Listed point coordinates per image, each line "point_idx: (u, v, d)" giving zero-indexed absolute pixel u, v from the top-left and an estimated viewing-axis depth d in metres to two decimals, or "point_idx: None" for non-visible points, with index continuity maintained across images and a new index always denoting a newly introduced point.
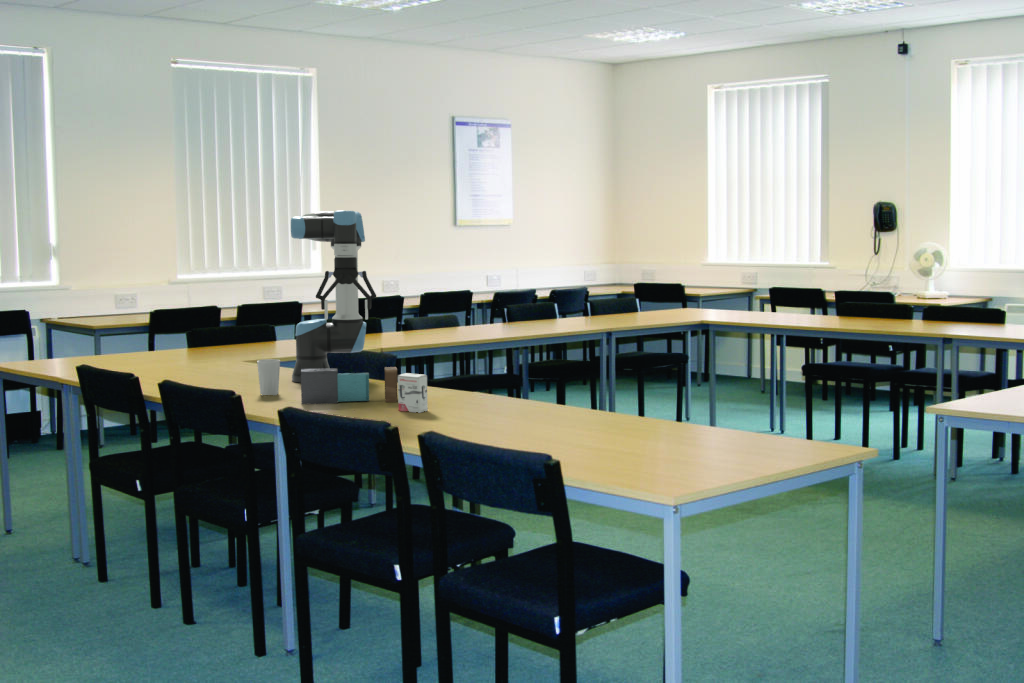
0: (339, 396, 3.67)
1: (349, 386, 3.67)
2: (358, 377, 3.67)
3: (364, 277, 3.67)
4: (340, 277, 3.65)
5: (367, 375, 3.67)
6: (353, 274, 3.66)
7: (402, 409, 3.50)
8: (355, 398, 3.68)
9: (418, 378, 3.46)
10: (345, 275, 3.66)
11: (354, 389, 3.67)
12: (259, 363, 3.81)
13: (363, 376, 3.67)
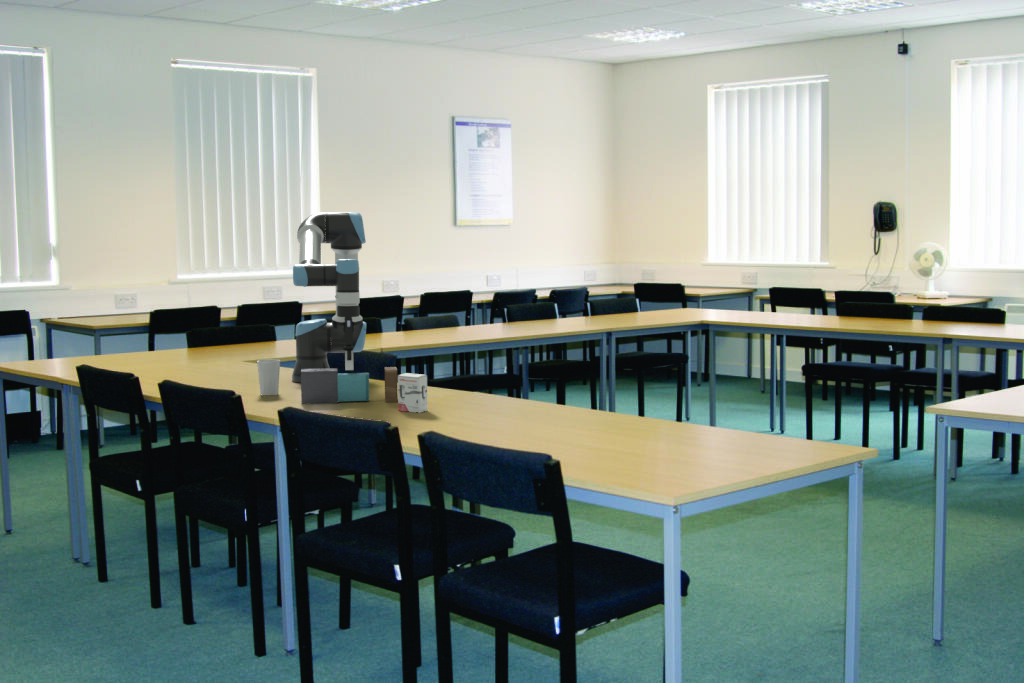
0: (339, 396, 3.67)
1: (349, 386, 3.67)
2: (358, 377, 3.67)
3: (345, 327, 3.60)
4: None
5: (367, 375, 3.67)
6: (345, 323, 3.64)
7: (402, 409, 3.50)
8: (355, 398, 3.68)
9: (418, 378, 3.46)
10: (345, 323, 3.66)
11: (354, 389, 3.67)
12: (259, 363, 3.81)
13: (363, 376, 3.67)
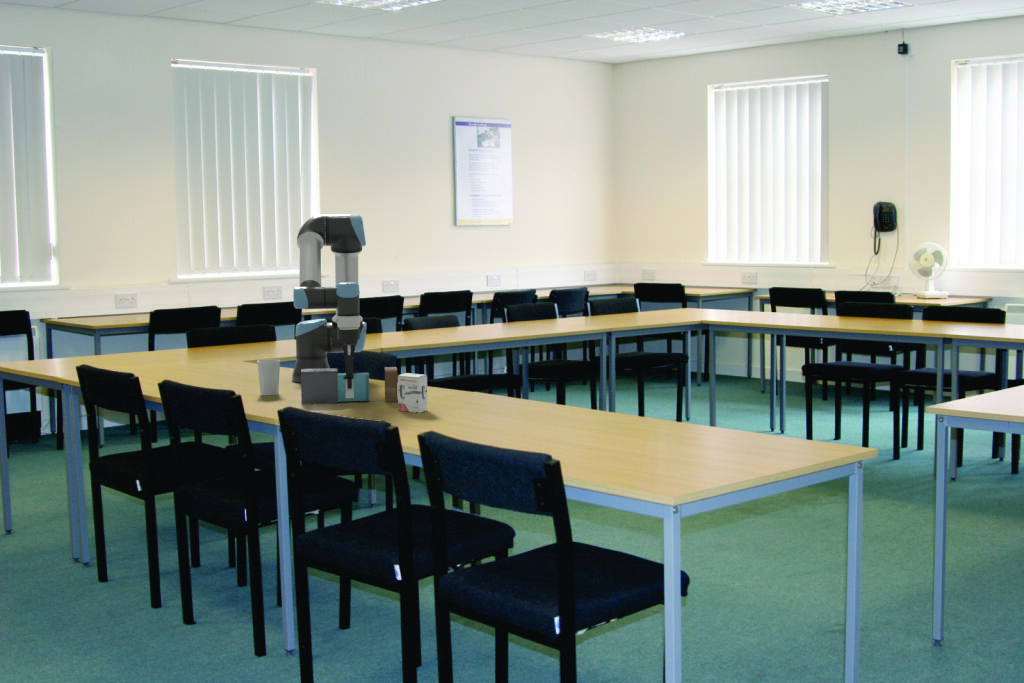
0: (339, 396, 3.67)
1: None
2: (358, 377, 3.67)
3: (345, 355, 3.62)
4: None
5: (367, 375, 3.67)
6: (345, 346, 3.65)
7: (402, 409, 3.50)
8: (355, 398, 3.68)
9: (418, 378, 3.46)
10: (345, 346, 3.67)
11: (354, 389, 3.67)
12: (259, 363, 3.81)
13: (363, 376, 3.67)
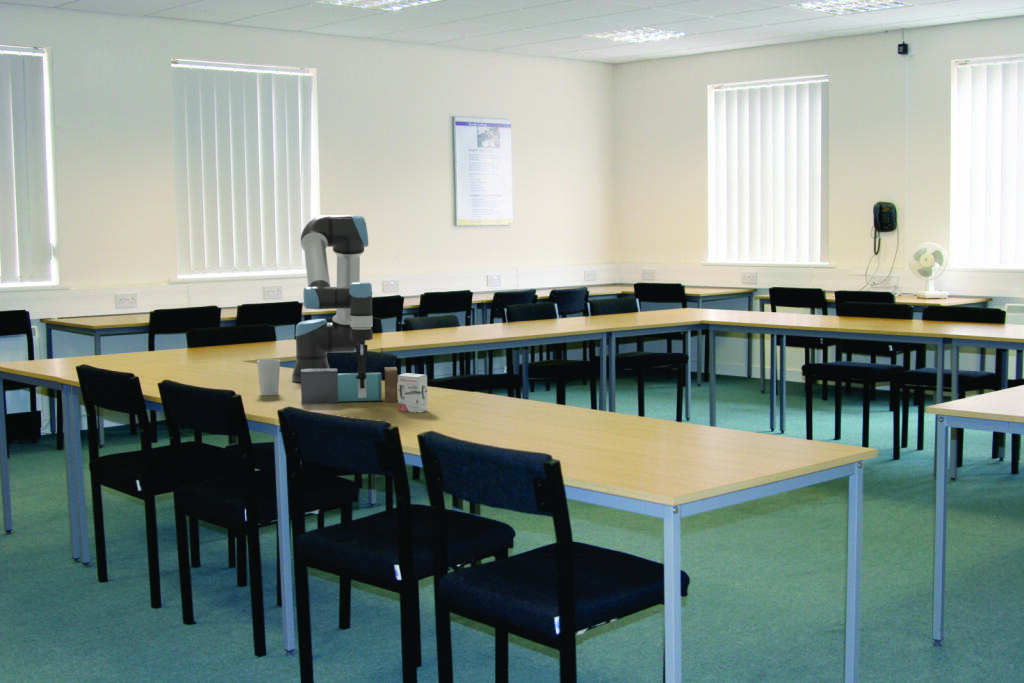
0: (352, 396, 3.67)
1: None
2: (370, 377, 3.68)
3: (358, 354, 3.63)
4: None
5: (379, 375, 3.68)
6: (358, 346, 3.65)
7: (402, 409, 3.50)
8: (367, 397, 3.68)
9: (418, 378, 3.46)
10: (358, 346, 3.68)
11: (367, 389, 3.68)
12: (259, 363, 3.81)
13: (376, 376, 3.68)
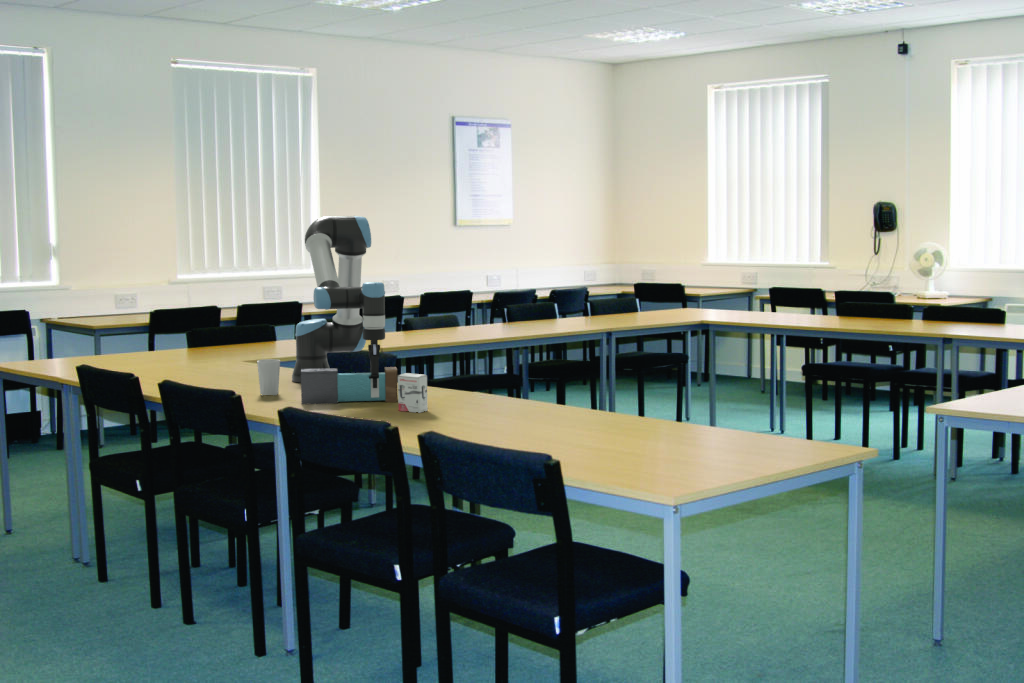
0: (364, 395, 3.68)
1: None
2: (383, 377, 3.68)
3: (371, 354, 3.63)
4: None
5: None
6: (371, 345, 3.66)
7: (402, 409, 3.50)
8: (380, 397, 3.69)
9: (418, 378, 3.46)
10: (370, 346, 3.69)
11: (380, 389, 3.69)
12: (259, 363, 3.81)
13: None
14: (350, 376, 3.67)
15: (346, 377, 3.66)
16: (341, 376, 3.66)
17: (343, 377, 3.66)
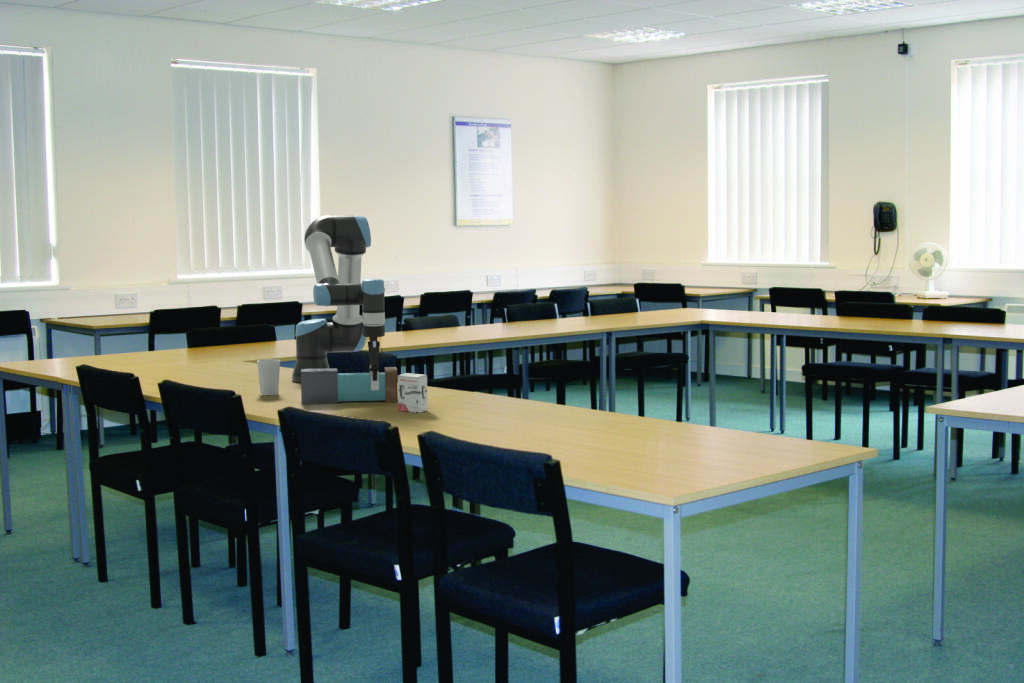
0: (364, 395, 3.68)
1: None
2: (383, 377, 3.68)
3: (370, 347, 3.62)
4: None
5: None
6: None
7: (402, 409, 3.50)
8: (380, 397, 3.69)
9: (418, 378, 3.46)
10: None
11: (380, 388, 3.69)
12: (259, 363, 3.81)
13: None
14: (350, 376, 3.67)
15: (346, 377, 3.66)
16: (341, 376, 3.66)
17: (343, 377, 3.66)
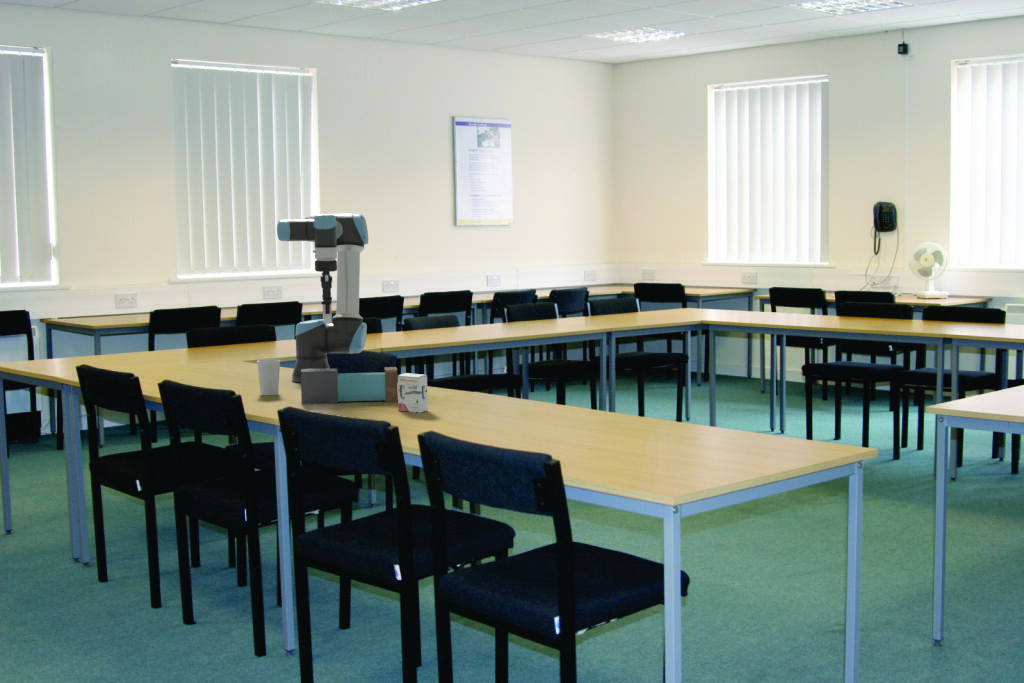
0: (364, 395, 3.68)
1: (374, 386, 3.68)
2: (383, 377, 3.68)
3: (323, 281, 3.68)
4: (320, 279, 3.76)
5: None
6: (323, 277, 3.72)
7: (402, 409, 3.50)
8: (380, 397, 3.69)
9: (418, 378, 3.46)
10: None
11: (380, 388, 3.69)
12: (259, 363, 3.81)
13: None
14: (350, 376, 3.67)
15: (346, 377, 3.66)
16: (341, 376, 3.66)
17: (343, 377, 3.66)
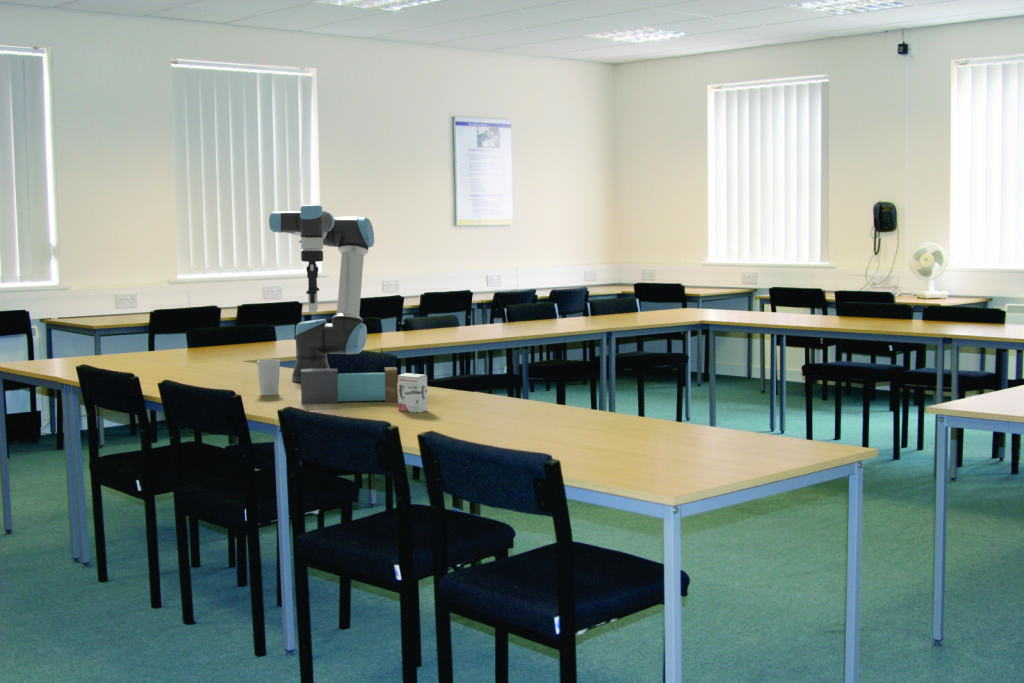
0: (364, 395, 3.68)
1: (374, 386, 3.68)
2: (383, 377, 3.68)
3: (308, 271, 3.70)
4: None
5: None
6: None
7: (402, 409, 3.50)
8: (380, 397, 3.69)
9: (418, 378, 3.46)
10: None
11: (380, 388, 3.69)
12: (259, 363, 3.81)
13: None
14: (350, 376, 3.67)
15: (346, 377, 3.66)
16: (341, 376, 3.66)
17: (343, 377, 3.66)
